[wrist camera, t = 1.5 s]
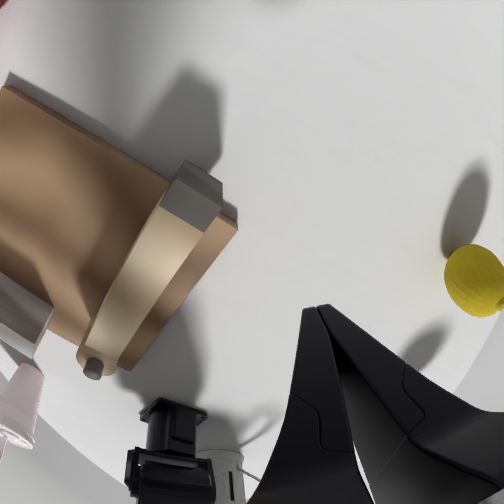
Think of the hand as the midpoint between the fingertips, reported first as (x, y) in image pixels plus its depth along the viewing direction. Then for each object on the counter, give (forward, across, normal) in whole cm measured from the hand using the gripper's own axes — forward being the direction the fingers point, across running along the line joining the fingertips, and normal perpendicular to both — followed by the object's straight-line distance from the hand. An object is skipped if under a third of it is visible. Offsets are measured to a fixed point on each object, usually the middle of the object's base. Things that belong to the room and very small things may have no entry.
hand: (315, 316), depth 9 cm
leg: (+11, +9, +4) cm, 15 cm away
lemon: (+12, -17, +8) cm, 23 cm away
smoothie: (+12, +30, +16) cm, 37 cm away
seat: (+12, +16, +1) cm, 20 cm away
